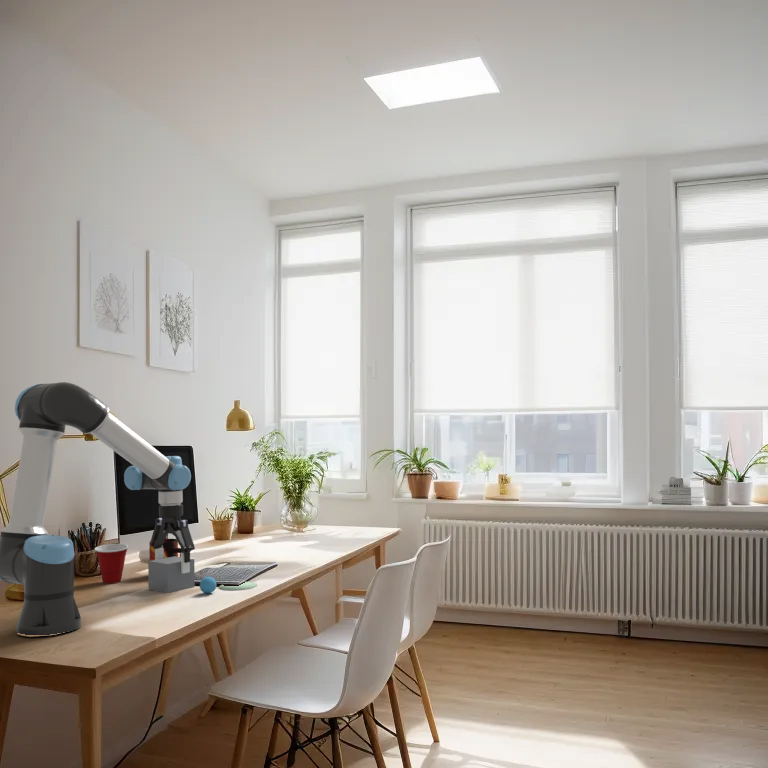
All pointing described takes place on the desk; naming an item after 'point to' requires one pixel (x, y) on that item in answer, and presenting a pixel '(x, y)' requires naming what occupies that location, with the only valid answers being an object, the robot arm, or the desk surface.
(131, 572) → the desk surface
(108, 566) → the plastic cup
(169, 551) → the mug
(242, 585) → the disc
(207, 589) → the ball
